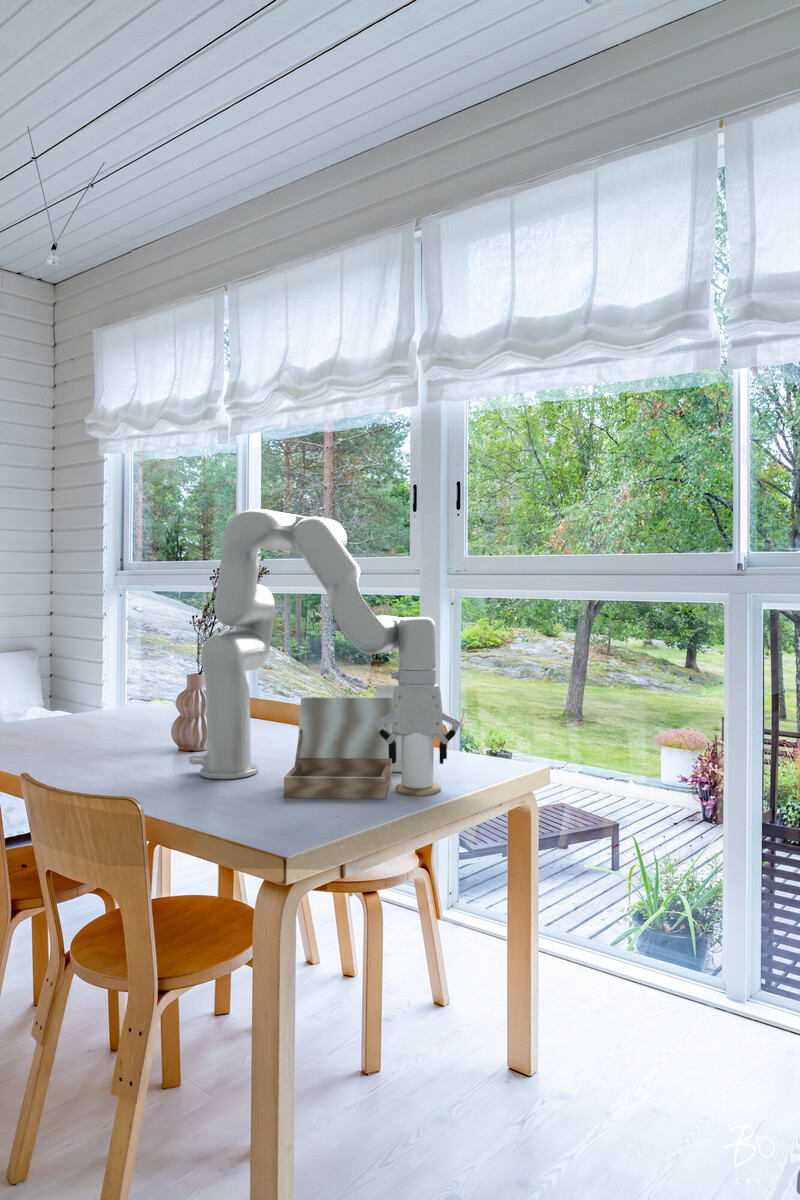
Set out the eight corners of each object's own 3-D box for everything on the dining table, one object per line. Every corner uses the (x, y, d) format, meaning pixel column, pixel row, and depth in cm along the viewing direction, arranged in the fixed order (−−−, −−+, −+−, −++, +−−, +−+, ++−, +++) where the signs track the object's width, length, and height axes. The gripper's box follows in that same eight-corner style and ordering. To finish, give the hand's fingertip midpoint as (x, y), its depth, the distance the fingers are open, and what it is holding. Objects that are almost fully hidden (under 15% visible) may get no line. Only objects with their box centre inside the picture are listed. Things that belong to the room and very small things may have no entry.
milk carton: (404, 772, 177) (403, 687, 177) (373, 771, 178) (372, 686, 178) (410, 765, 184) (409, 683, 184) (380, 764, 185) (379, 683, 185)
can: (434, 789, 158) (434, 729, 158) (401, 789, 158) (401, 729, 158) (432, 781, 165) (432, 724, 165) (401, 781, 165) (401, 723, 165)
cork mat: (394, 795, 157) (394, 791, 157) (397, 784, 166) (397, 780, 166) (439, 796, 157) (439, 792, 157) (441, 784, 166) (441, 781, 166)
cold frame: (284, 797, 157) (282, 709, 156) (302, 776, 174) (301, 697, 174) (385, 798, 155) (384, 709, 155) (393, 777, 173) (392, 697, 172)
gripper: (372, 680, 158) (373, 766, 158) (459, 680, 157) (460, 767, 157) (376, 676, 166) (377, 758, 166) (460, 675, 164) (460, 758, 165)
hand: (417, 762), depth 161 cm, fingers open, 9 cm apart
